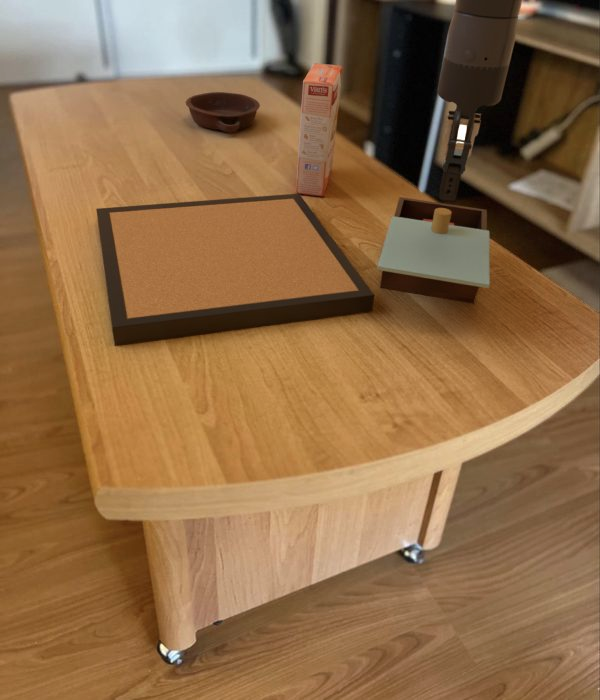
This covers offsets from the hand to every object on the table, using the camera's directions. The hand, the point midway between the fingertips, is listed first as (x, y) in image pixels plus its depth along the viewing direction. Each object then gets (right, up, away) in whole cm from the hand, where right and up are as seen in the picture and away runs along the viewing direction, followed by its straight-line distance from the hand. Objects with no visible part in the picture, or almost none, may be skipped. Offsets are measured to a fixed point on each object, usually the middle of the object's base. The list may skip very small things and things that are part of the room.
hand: (447, 197), depth 83 cm
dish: (-38, +35, +70) cm, 87 cm away
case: (+1, -7, +17) cm, 19 cm away
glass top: (0, -6, +5) cm, 8 cm away
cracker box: (-16, +13, +43) cm, 48 cm away
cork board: (-31, -7, +15) cm, 35 cm away
